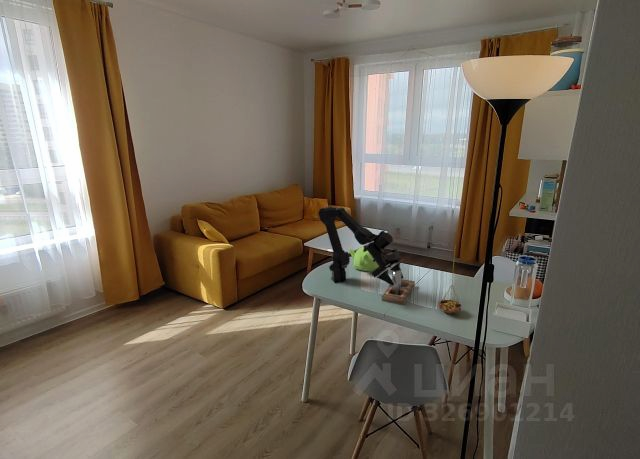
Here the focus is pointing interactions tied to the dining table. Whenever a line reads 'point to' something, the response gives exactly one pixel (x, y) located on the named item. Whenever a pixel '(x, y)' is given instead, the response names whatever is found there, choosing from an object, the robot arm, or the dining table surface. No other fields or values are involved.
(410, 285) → the brown flat block
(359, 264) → the teapot
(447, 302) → the bird feeder
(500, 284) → the dining table surface
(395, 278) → the peg
